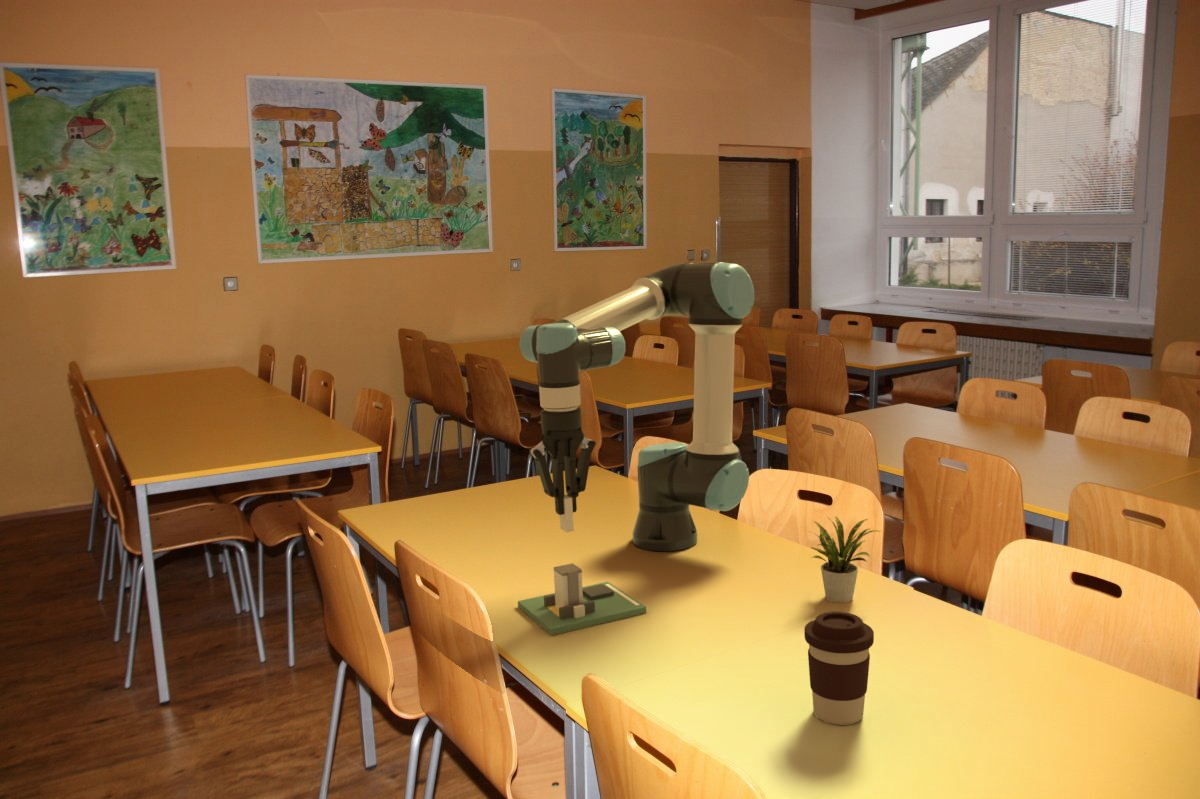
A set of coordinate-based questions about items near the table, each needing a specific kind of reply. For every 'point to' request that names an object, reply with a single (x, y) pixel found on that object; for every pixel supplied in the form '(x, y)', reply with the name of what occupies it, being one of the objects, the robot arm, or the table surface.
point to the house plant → (840, 562)
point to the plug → (568, 585)
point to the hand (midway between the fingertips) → (567, 529)
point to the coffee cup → (838, 665)
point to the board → (582, 609)
